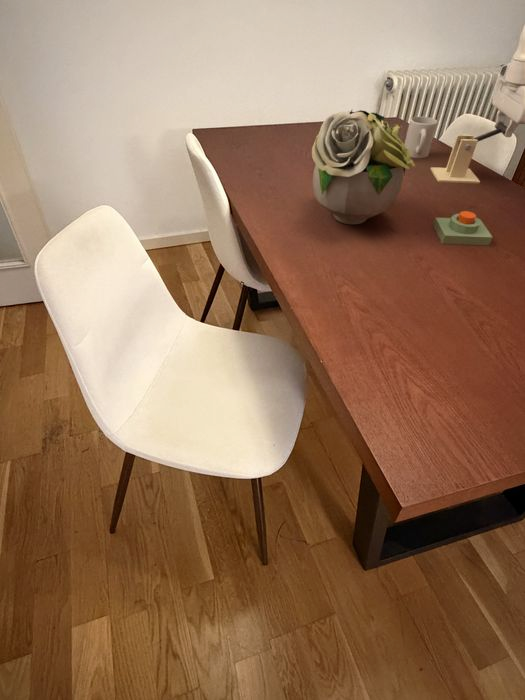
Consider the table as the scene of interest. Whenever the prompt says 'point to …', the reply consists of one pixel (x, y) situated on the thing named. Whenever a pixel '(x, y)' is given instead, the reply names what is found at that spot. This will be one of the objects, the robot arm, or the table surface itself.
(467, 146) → the beige bracket stand
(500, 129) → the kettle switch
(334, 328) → the table surface
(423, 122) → the mug
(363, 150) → the flower arrangement
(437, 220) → the control block
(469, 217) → the button
